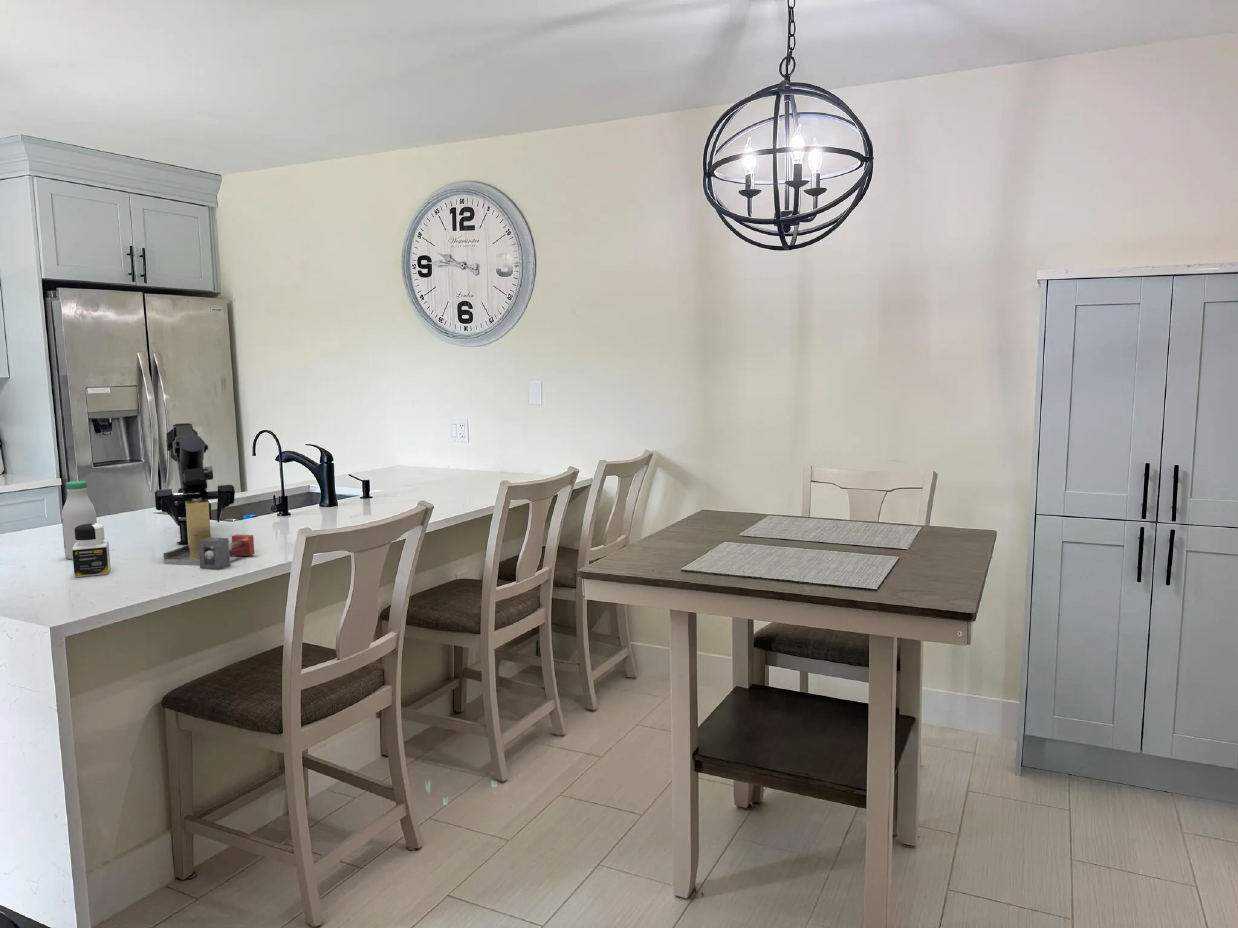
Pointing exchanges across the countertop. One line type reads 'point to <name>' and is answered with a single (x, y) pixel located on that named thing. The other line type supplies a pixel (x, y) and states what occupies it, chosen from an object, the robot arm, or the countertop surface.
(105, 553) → the medicine bottle
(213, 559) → the block
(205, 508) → the tan wooden block
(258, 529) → the countertop surface
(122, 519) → the countertop surface
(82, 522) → the milk bottle
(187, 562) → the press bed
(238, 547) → the ram handle
